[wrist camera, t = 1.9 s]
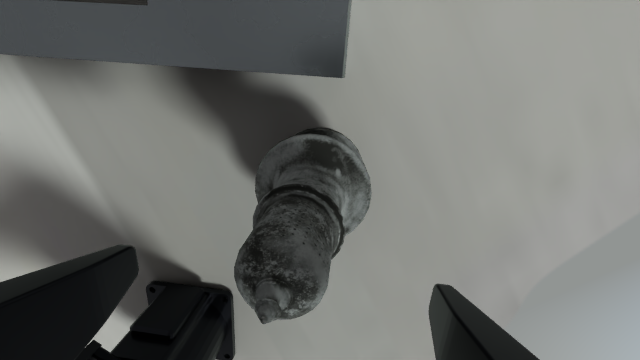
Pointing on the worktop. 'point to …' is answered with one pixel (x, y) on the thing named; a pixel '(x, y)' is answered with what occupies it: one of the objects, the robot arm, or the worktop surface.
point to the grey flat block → (185, 33)
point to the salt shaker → (300, 222)
